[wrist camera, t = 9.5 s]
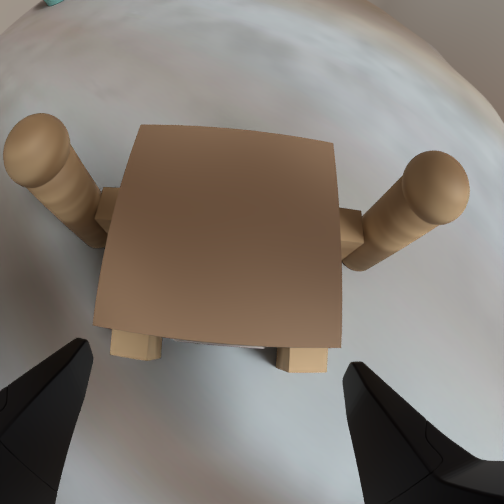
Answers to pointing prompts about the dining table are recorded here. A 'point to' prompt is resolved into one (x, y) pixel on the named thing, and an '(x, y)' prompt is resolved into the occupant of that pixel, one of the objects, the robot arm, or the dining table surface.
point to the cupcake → (52, 2)
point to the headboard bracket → (351, 221)
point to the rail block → (225, 240)
